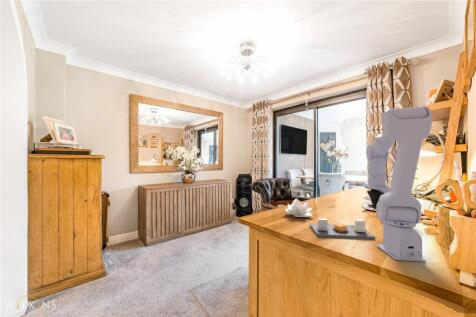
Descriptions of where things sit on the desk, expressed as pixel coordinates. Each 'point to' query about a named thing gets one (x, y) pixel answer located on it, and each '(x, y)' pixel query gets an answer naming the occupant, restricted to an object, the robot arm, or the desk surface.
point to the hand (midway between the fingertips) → (376, 208)
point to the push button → (340, 227)
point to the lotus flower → (299, 209)
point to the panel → (341, 233)
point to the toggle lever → (360, 226)
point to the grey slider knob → (322, 225)
